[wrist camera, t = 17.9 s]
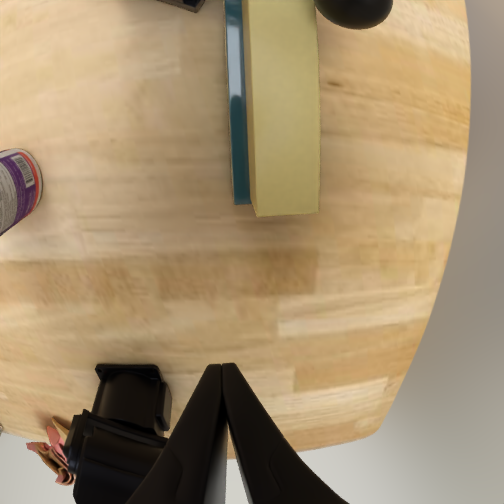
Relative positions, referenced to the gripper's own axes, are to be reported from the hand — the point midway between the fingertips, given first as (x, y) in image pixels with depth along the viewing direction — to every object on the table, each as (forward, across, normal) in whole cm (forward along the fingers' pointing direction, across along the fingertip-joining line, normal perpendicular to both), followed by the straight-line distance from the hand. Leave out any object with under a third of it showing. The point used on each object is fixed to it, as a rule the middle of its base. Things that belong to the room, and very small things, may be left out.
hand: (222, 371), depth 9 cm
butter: (+11, -4, -9) cm, 15 cm away
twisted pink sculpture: (+13, +25, +28) cm, 40 cm away
